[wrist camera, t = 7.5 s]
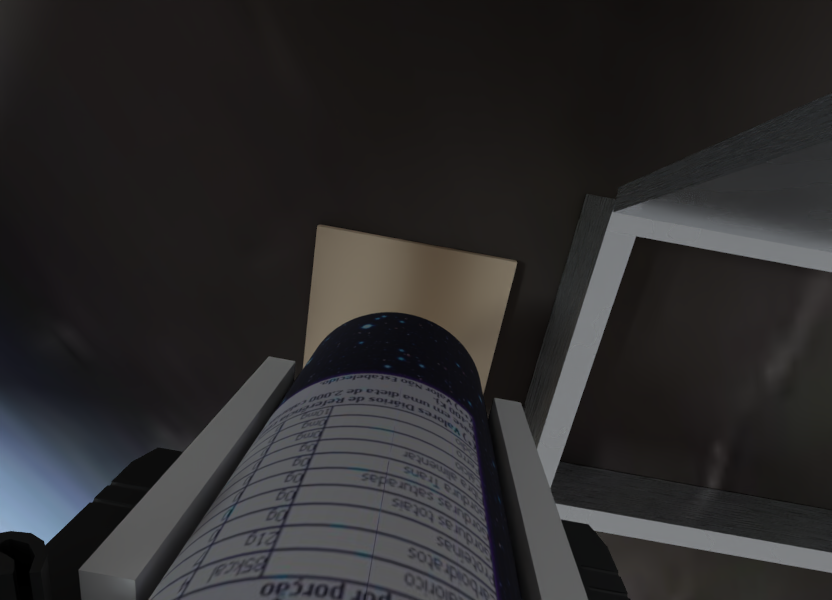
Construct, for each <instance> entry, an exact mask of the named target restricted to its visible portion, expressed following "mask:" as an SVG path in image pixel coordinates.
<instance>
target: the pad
mask: <svg viewBox="0 0 832 600" xmlns="http://www.w3.org/2000/svg"><path fill="white" fill-rule="evenodd" d="M516 266H517V261H516V260H512V259H506V258H501V257H495V256H490V255H485V254H479V253H474V252H468V251H463V250H457V249H452V248H446V247H441V246H436V245H430V244H425V243H419V242H414V241H408V240H403V239H397V238H392V237H386V236H381V235H376V234H370V233H365V232H359V231H354V230H348V229H343V228H337V227H332V226H326V225H321V224H320V225H318V226H317V233H316V243H315V253H314V263H313V273H312V283H311V292H310V302H309V312H308V322H307V332H306V342H305V351H304V361H303V368H304V367H305V365H306V364H307V362H308V361H309V359H310V358H311V356H312V355H313V353H314V352H315V350H316V349H317V347H318V346H319V344H320V343H321V342H322V341H323V340H324V339H325V338H326V336H327V335H329V334H330V333H331V332H332V331H333V330H335V329H336V328H337V327H339V326H341V325H342V324H344V323H346V322H348V321H350V320H352V319H355V318H357V317H360V316H364V315H368V314H373V313H380V312H398V313H406V314H411V315H415V316H418V317H422V318H424V319H427V320H429V321H431V322H434V323H436V324H437V325H439V326H441V327H442V328H444V329H445V330H447V331H448V332H450V333H451V334H452V335H453V336H454V337H455V338H457V339H458V340H459V341H460V343H461V344H462V345H463V346H464V347H465V348H466V350H467V351H468V353H469V354H470V356H471V357H472V359H473V361H474V363H475V365H476V368H477V370H478V373H479V377H480V381H481V386H482V392H483V394H484V390H485V387H486V383H487V379H488V375H489V371H490V367H491V363H492V359H493V355H494V352H495V348H496V344H497V340H498V336H499V332H500V328H501V324H502V320H503V316H504V313H505V309H506V305H507V301H508V297H509V293H510V289H511V285H512V281H513V278H514V274H515V270H516Z"/></svg>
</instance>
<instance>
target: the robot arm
mask: <svg viewBox="0 0 832 600" xmlns="http://www.w3.org/2000/svg"><path fill="white" fill-rule="evenodd" d="M294 372H295V361H291V360H286V359H281V358H275V357H270V356H269V357H268V358H267V359H266V360H265V361H264V362H263V364H262V365H261V366H260V367H259V368H258V369H257V370H256V371H255V372H254V374H253V375H252V376H251V377H250V378H249V379H248V380H247V381H246V383H245V384H244V385H243V386H242V387H241V388H240V389H239V390H238V392H237V393H236V394H235V395H234V396H233V397H232V398H231V399H230V401H229V402H228V403H227V404H226V405H225V406H224V407H223V408H222V409H221V411H220V412H219V413H218V414H217V415H216V416H215V417H214V418H213V420H212V421H211V422H210V423H209V424H208V425H207V426H206V427H205V429H204V430H203V431H202V432H201V433H200V434H199V435H198V436H197V438H196V439H195V440H194V441H193V442H192V443H191V444H190V445H189V446H188V448H187V449H186V450H185V451H184V452H180V451H175V450H169V449H164V448H156V449H155V450H153V451H151V452H149V453H147V454H145V455H144V456H142V457H140V458H138V459H136V460H134V461H133V462H131V463H130V464H129V465H128V466H127V467H126V468H125V469H124V470H123V471H122V472H121V473H120V474H119V475H118V476H117V477H116V478H115V479H114V480H113V481H112V483H111V485H110V486H109V485H107V486H106V487H105V488H104V489H103V490H102V491H101V492H100V493H99V494H98V495H97V496H96V497H95V498H94V501H93V502H92V503H89V504H88V505H87V506H86V507H85V508H84V509H83V510H82V511H80V512H79V513H78V514H77V515H76V516H75V517H74V518H73V519H72V520H71V521H70V522H69V523H68V524H67V525H66V526H65V527H64V528H63V529H62V530H61V531H60V532H59V533H58V534H57V535H56V536H55V537H54V538H52V539H51V540H50V541H49V542H48V543H47V544H46V545H45V544H44V541H43V540H41V539H40V538H38V537H36V536H35V535H33V534H32V533H24V532H14V531H9V532H3V533H0V600H148V599H149V598H150V596H151V595H152V593H153V592H154V590H155V589H156V587H157V586H158V584H159V583H160V582H161V580H162V579H163V577H164V576H165V574H166V573H167V571H168V570H169V568H170V567H171V565H172V564H173V562H174V561H175V559H176V558H177V556H178V555H179V553H180V552H181V550H182V549H183V547H184V546H185V544H186V543H187V541H188V540H189V538H190V537H191V535H192V534H193V532H194V531H195V529H196V528H197V526H198V525H199V523H200V522H201V520H202V519H203V517H204V516H205V514H206V513H207V511H208V510H209V508H210V507H211V505H212V504H213V502H214V501H215V499H216V498H217V496H218V495H219V493H220V492H221V490H222V489H223V487H224V486H225V485H226V483H227V482H228V480H229V479H230V477H231V476H232V474H233V473H234V471H235V470H236V468H237V467H238V465H239V464H240V462H241V461H242V459H243V458H244V456H245V455H246V453H247V452H248V450H249V449H250V447H251V446H252V444H253V443H254V441H255V440H256V438H257V437H258V435H259V434H260V432H261V431H262V429H263V428H264V426H265V425H266V423H267V422H268V420H269V419H270V417H271V416H272V414H273V413H274V411H275V410H276V408H277V407H278V405H279V404H280V402H281V401H282V399H283V398H284V396H285V395H286V393H287V392H288V390H289V389H290V387H291V386H292V385H293V382H294ZM488 423H489V429H490V434H491V439H492V444H493V450H494V455H495V460H496V465H497V471H498V476H499V481H500V487H501V492H502V497H503V502H504V508H505V513H506V518H507V523H508V529H509V534H510V539H511V544H512V550H513V555H514V560H515V565H516V571H517V576H518V581H519V587H520V592H521V597H522V600H630V599H629V598H628V597H627V591H626V588H625V586H624V584H623V582H622V579H621V577H619V576H618V570H617V568H616V566H615V563H614V561H613V559H612V557H611V554H610V552H609V550H608V548H607V546H606V545H605V544H604V542H603V541H602V540H601V539H600V538H599V536H598V535H597V534H596V533H595V532H594V530H593V529H592V528H591V527H590V525H589V524H584V523H578V522H573V521H568V520H562V519H560V516H559V513H558V510H557V507H556V504H555V501H554V498H553V495H552V492H551V489H550V487H549V484H548V481H547V478H546V475H545V472H544V469H543V466H542V463H541V460H540V457H539V454H538V451H537V449H536V446H535V443H534V440H533V437H532V434H531V431H530V428H529V425H528V422H527V419H526V416H525V414H524V411H523V408H522V405H521V402H515V401H510V400H504V399H499V398H494V400H493V404H492V408H491V411H490V415H489V419H488Z"/></svg>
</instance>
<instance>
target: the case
mask: <svg viewBox="0 0 832 600" xmlns="http://www.w3.org/2000/svg"><path fill="white" fill-rule="evenodd" d="M636 236H638V237H643V238H648V239H654V240H659V241H665V242H670V243H676V244H681V245H686V246H692V247H697V248H703V249H708V250H714V251H719V252H724V253H730V254H735V255H741V256H746V257H752V258H757V259H762V260H768V261H773V262H779V263H784V264H789V265H795V266H800V267H806V268H811V269H817V270H822V271H827V272H832V93H829V94H827V95H825V96H823V97H820V98H818V99H816V100H814V101H811V102H809V103H807V104H805V105H802V106H800V107H798V108H796V109H793V110H791V111H789V112H787V113H784V114H782V115H780V116H778V117H775V118H773V119H771V120H769V121H766V122H764V123H762V124H760V125H757V126H755V127H753V128H751V129H748V130H746V131H744V132H742V133H739V134H737V135H735V136H733V137H730V138H728V139H726V140H724V141H721V142H719V143H717V144H715V145H713V146H710V147H708V148H706V149H704V150H701V151H699V152H697V153H695V154H692V155H690V156H688V157H686V158H683V159H681V160H679V161H677V162H674V163H672V164H670V165H668V166H665V167H663V168H661V169H659V170H656V171H654V172H652V173H650V174H647V175H645V176H643V177H641V178H638V179H636V180H634V181H632V182H629V183H627V184H625V185H623V186H620V187H618V192H617V197H616V199H612V198H606V197H601V196H596V195H590V194H586V197H585V200H584V204H583V207H582V211H581V214H580V217H579V221H578V224H577V228H576V231H575V234H574V238H573V241H572V245H571V248H570V251H569V255H568V258H567V262H566V265H565V268H564V272H563V275H562V279H561V282H560V285H559V289H558V292H557V296H556V299H555V302H554V306H553V309H552V313H551V316H550V319H549V323H548V326H547V330H546V333H545V336H544V340H543V343H542V347H541V350H540V353H539V357H538V360H537V364H536V367H535V370H534V374H533V377H532V381H531V384H530V387H529V391H528V394H527V398H526V401H525V404H524V408H523V411H524V414H525V416H526V419H527V422H528V425H529V428H530V431H531V434H532V437H533V440H534V443H535V446H536V449H537V451H538V454H539V457H540V460H541V463H542V466H543V469H544V472H545V475H546V478H547V481H548V484H549V487H550V489H551V492H552V495H553V498H554V501H555V504H556V507H557V510H558V513H559V516H560V519H562V520H568V521H573V522H578V523H584V524H589V525H590V527H591V528H592V529H593V530H594V531H600V532H605V533H611V534H616V535H622V536H628V537H633V538H639V539H644V540H650V541H656V542H661V543H667V544H673V545H678V546H684V547H689V548H695V549H701V550H706V551H712V552H717V553H723V554H729V555H734V556H740V557H745V558H751V559H757V560H762V561H768V562H774V563H779V564H785V565H790V566H796V567H802V568H807V569H813V570H818V571H824V572H830V573H832V510H827V509H821V508H816V507H810V506H805V505H799V504H793V503H788V502H782V501H777V500H771V499H766V498H760V497H754V496H749V495H743V494H738V493H732V492H727V491H721V490H715V489H710V488H704V487H699V486H693V485H688V484H682V483H676V482H671V481H665V480H660V479H654V478H649V477H643V476H637V475H632V474H626V473H621V472H615V471H610V470H604V469H598V468H593V467H587V466H582V465H576V464H571V463H565V462H559V461H560V458H561V455H562V453H563V450H564V447H565V444H566V441H567V438H568V435H569V432H570V429H571V426H572V423H573V420H574V417H575V414H576V411H577V408H578V406H579V403H580V400H581V397H582V394H583V391H584V388H585V385H586V382H587V379H588V376H589V373H590V370H591V367H592V364H593V361H594V359H595V356H596V353H597V350H598V347H599V344H600V341H601V338H602V335H603V332H604V329H605V326H606V323H607V320H608V317H609V314H610V312H611V309H612V306H613V303H614V300H615V297H616V294H617V291H618V288H619V285H620V282H621V279H622V276H623V273H624V270H625V268H626V265H627V262H628V259H629V256H630V253H631V250H632V247H633V244H634V241H635V238H636Z"/></svg>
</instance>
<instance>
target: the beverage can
mask: <svg viewBox="0 0 832 600" xmlns="http://www.w3.org/2000/svg"><path fill="white" fill-rule="evenodd" d="M148 600H522V597H521V592H520V587H519V581H518V576H517V571H516V565H515V560H514V555H513V550H512V544H511V539H510V534H509V529H508V523H507V518H506V513H505V508H504V502H503V497H502V492H501V487H500V481H499V476H498V471H497V465H496V460H495V455H494V450H493V444H492V439H491V434H490V429H489V423H488V418H487V413H486V408H485V402H484V397H483V392H482V386H481V381H480V377H479V373H478V370H477V368H476V365H475V363H474V361H473V359H472V357H471V356H470V354H469V353H468V351H467V350H466V348H465V347H464V346H463V345H462V344H461V343H460V341H459V340H458V339H457V338H455V337H454V336H453V335H452V334H451V333H450V332H448V331H447V330H445V329H444V328H442V327H441V326H439V325H437V324H436V323H434V322H431V321H429V320H427V319H424V318H422V317H418V316H415V315H411V314H406V313H398V312H380V313H373V314H368V315H364V316H360V317H357V318H355V319H352V320H350V321H348V322H346V323H344V324H342V325H341V326H339V327H337V328H336V329H335V330H333V331H332V332H331V333H330V334H329V335H327V336H326V338H325V339H324V340H323V341H322V342H321V343H320V344H319V346H318V347H317V349H316V350H315V352H314V353H313V355H312V356H311V358H310V359H309V361H308V362H307V364H306V365H305V367H304V368H303V370H302V371H301V373H300V374H299V376H298V377H297V379H296V380H295V382H294V383H293V385H292V386H291V387H290V389H289V390H288V392H287V393H286V395H285V396H284V398H283V399H282V401H281V402H280V404H279V405H278V407H277V408H276V410H275V411H274V413H273V414H272V416H271V417H270V419H269V420H268V422H267V423H266V425H265V426H264V428H263V429H262V431H261V432H260V434H259V435H258V437H257V438H256V440H255V441H254V443H253V444H252V446H251V447H250V449H249V450H248V452H247V453H246V455H245V456H244V458H243V459H242V461H241V462H240V464H239V465H238V467H237V468H236V470H235V471H234V473H233V474H232V476H231V477H230V479H229V480H228V482H227V483H226V485H225V486H224V487H223V489H222V490H221V492H220V493H219V495H218V496H217V498H216V499H215V501H214V502H213V504H212V505H211V507H210V508H209V510H208V511H207V513H206V514H205V516H204V517H203V519H202V520H201V522H200V523H199V525H198V526H197V528H196V529H195V531H194V532H193V534H192V535H191V537H190V538H189V540H188V541H187V543H186V544H185V546H184V547H183V549H182V550H181V552H180V553H179V555H178V556H177V558H176V559H175V561H174V562H173V564H172V565H171V567H170V568H169V570H168V571H167V573H166V574H165V576H164V577H163V579H162V580H161V582H160V583H159V584H158V586H157V587H156V589H155V590H154V592H153V593H152V595H151V596H150V598H149V599H148Z"/></svg>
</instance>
